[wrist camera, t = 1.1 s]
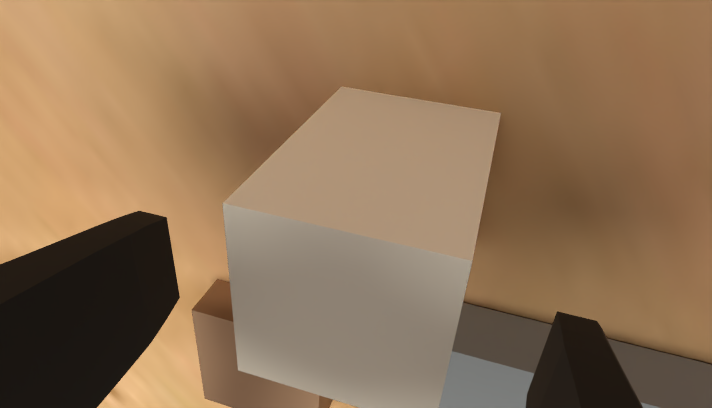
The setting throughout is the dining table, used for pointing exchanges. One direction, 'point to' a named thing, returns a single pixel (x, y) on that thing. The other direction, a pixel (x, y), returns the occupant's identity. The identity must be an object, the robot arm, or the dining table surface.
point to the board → (522, 354)
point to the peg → (360, 248)
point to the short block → (219, 361)
